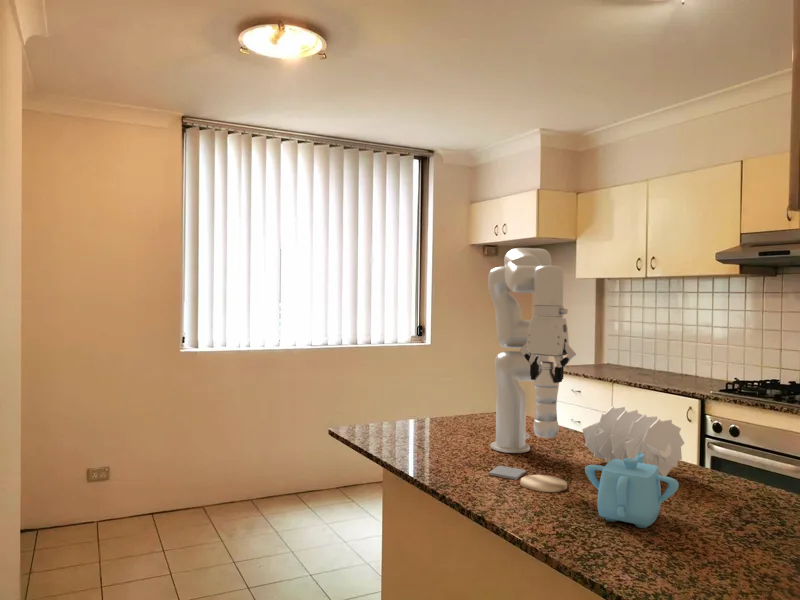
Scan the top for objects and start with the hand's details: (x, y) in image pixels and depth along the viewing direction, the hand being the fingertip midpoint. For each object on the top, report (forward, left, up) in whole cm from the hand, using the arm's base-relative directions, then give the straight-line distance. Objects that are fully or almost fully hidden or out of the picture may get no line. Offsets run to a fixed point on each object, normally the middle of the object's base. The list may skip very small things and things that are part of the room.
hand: (546, 380), depth 160 cm
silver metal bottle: (0, 0, -15) cm, 15 cm away
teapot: (+7, +25, -28) cm, 38 cm away
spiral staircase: (-30, +13, -28) cm, 43 cm away
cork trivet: (0, 0, -28) cm, 28 cm away
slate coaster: (-2, -12, -28) cm, 30 cm away
